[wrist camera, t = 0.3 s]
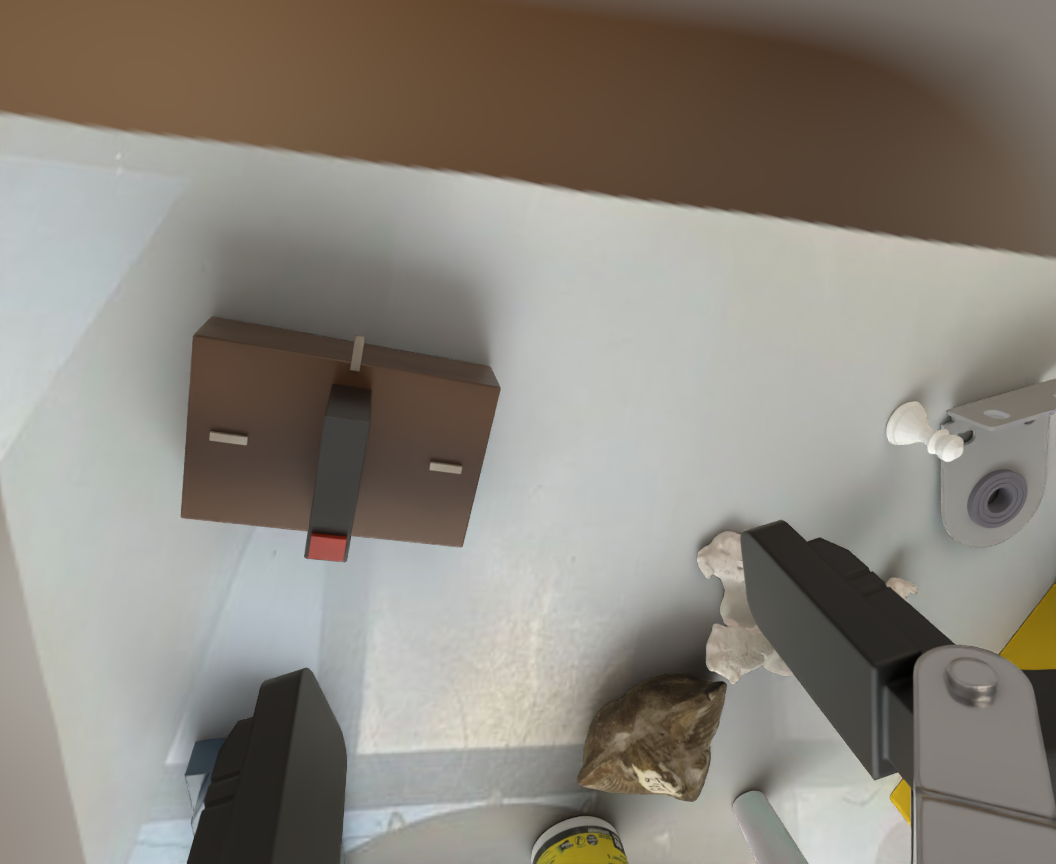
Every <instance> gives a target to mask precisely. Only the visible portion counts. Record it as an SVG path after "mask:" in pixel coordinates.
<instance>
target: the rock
mask: <svg viewBox="0 0 1056 864" xmlns="http://www.w3.org/2000/svg"><path fill="white" fill-rule="evenodd" d="M740 537H741V534H737V533H735V532H732V531H724V532H722V533H720V534H718V535H717V536H716V537H715V538H714V539H713V540H712V542H711V544H710V545H708V546H705V547H704V548H703V549H701V550H700V551H699V552H698V554H697V562H698V566H699V568H700V570H701V571H702V573H703V574H704V576H705V577H706V578H710V577H711V575H712V574H714V575H716V576H717V577H719V578H720V579H721V582H722V584H723V586H724V589H725V590H726V591H725V592H724V595H725V596H724V598H723V600H722V603H721V607H720V614H721V615H722V616H721V617H722V618H723V622H724V623H725V624H726V625H728V626H722V625H720V624H714V625H713V627H712V632H711V635H710V637H709V639H708V642H707V644H706V664H707V667H708V669H709V670H710V671H713V672H716V673H718V674H720V675H722V676H724V677H726V678H727V679H728V680H729V681H730V683H732V684H735V683H737V681H738V680H739V679H740V677H741V676H742V675H743V674H745V673H747V672H750V671H752V670H754V669H756V668H758V667H760V666H764V667H765V668H766V669H768V670H769V671H771V672H773V673H776V674H778V675H785V676H786V675H792V676H795V675H794V674H793V673H792V672H791V670H790V669H789V668H788V666H787V665H786V664H785V662H784V661H783V660H782V658H781V657H780V656H779V654H778V653H777V652H776V651H775V649H774V648H773V647H772V645H771V644H770V643H769V641H768V640H767V639H766V637H765V636H764V635H763V633H762V632H761V631H760V629H759V628H758V626H757V624H756V622H755V620H754V618H753V616H752V614H751V611H750V608H749V605H748V601H747V596H746V587H745V578H744V570H743V561H742V552H741V543H740ZM886 586H887V587H891V588H892V589H893V590H894V591H895V592H896V593H898V594H899V595H900V596H901V597H902V598H903V599H904V600H905V601H907V596H908V595H910V593H913V594H917V590H918V589H917V587H916V586H915V585H914V584H913V583H910V582H907V581H904V580H902V579H899V578H891V579H889V580H888V582H886Z"/></svg>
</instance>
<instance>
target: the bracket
mask: <svg viewBox="0 0 1056 864" xmlns="http://www.w3.org/2000/svg"><path fill="white" fill-rule="evenodd" d="M946 413H947V415H949V416H951V422H947V423H944V424H941V429H947V430H948V431H949V434H950V435H958V434H960V433H963V432H966V431H969V430H972V432H973V436H972V438H971V439H970V440H969V441H968V442H965V443H964V447H963V453H962V454H961V456H960V457H958V458H956V459H954V460H952V461H950V462H945V461H944V460H942V459H941V518H942V522H943V525H944V528H945V530H946V531H947V533H948V534H949V535H950V536H951V537H952V538H953V539H954V540H956V541H957V542H959V543H960V544H962V545H965V546H968V547H973V548H984V547H990V546H993V545H997V544H999V543H1001V542H1004V541H1005V540H1007V539H1009V538H1011V537H1012V536H1013V535H1015V534H1016V533H1017V532H1019V531H1020V530H1021V529H1022V528H1023V527H1024V526H1025V525H1026V524H1027V523H1028V522H1029V520H1030V519H1031V518H1032V516H1033V515H1034V513H1035V512H1036V510H1037V508H1038V506H1039V504H1040V502H1041V499H1042V497H1043V493H1044V489H1045V479H1046V461H1047V444H1048V427H1049V415H1052V414H1055V413H1056V379H1053V380H1049V381H1046V382H1041V383H1037V384H1034V385H1030V386H1027V387H1023V388H1020V389H1017V390H1013V391H1010V392H1006V393H1003V394H999V395H996V396H992V397H989V398H986V399H982V400H979V401H975V402H972V403H968V404H965V405H961V406H958V407H955V408H953V409H949V410H946ZM1028 421H1029V422H1028ZM1025 422H1028V423H1025ZM1024 423H1025V424H1024ZM997 489H999V493H998V496H997V498H996V499H995V500H994V501H993V502H992V503H991V504H989V505H988V500H989V497H990V496H991V495H992V493H993V492H994V491H996V490H997Z"/></svg>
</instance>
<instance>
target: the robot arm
mask: <svg viewBox="0 0 1056 864" xmlns="http://www.w3.org/2000/svg"><path fill="white" fill-rule="evenodd" d="M740 543H741V552H742V561H743V570H744V578H745V587H746V596H747V601H748V605H749V608H750V611H751V614H752V616H753V618H754V620H755V622H756V624H757V626H758V628H759V629H760V631H761V632H762V633H763V635H764V636H765V637H766V639H767V640H768V641H769V643H770V644H771V645H772V647H773V648H774V649H775V651H776V652H777V653H778V654H779V656H780V657H781V658H782V660H783V661H784V662H785V664H786V665H787V666H788V668H789V669H790V670H791V672H792V673H793V674H794V675H795V677H796V678H797V679H798V681H799V682H800V683H801V685H802V686H803V687H804V689H805V690H806V691H807V693H808V694H809V695H810V696H811V698H812V699H813V700H814V702H815V703H816V704H817V706H818V707H819V708H820V710H821V711H822V712H823V713H824V715H825V716H826V717H827V719H828V720H829V721H830V723H831V724H832V725H833V727H834V728H835V729H836V731H837V732H838V733H839V734H840V736H841V737H842V738H843V740H844V741H845V742H846V744H847V745H848V746H849V748H850V749H851V750H852V752H853V753H854V754H855V755H856V757H857V758H858V759H859V761H860V762H861V763H862V765H863V766H864V767H865V769H866V770H867V771H868V772H869V774H870V775H871V776H872V778H873V779H874V780H877V779H880V778H883V777H886V776H889V775H891V774H894V773H897V772H898V773H899V774H900V775H901V776H902V778H903V779H904V780H905V781H906V782H907V784H908V785H909V786H910V787H911V864H1056V669H1044V670H1022V669H1019V668H1018V667H1017V666H1016V665H1014V664H1013V663H1012V662H1010V661H1009V660H1007V659H1005V658H1004V657H1002V656H1000V655H998V654H995V653H993V652H991V651H988V650H985V649H981V648H978V647H973V646H966V645H955V644H954V643H953V642H952V641H951V640H950V639H948V638H947V637H946V636H945V635H944V634H943V633H942V632H940V631H939V630H938V629H937V628H936V627H935V626H934V625H933V624H931V623H930V622H929V621H928V620H927V619H926V618H925V617H924V616H922V615H921V614H920V613H919V612H918V611H917V610H916V609H914V608H913V607H912V606H911V605H910V604H909V603H908V602H907V601H905V600H904V599H903V598H902V597H901V596H900V595H899V594H898V593H896V592H895V591H894V590H893V589H892V588H891V587H887V586H886V583H885V582H884V581H883V580H882V579H881V578H879V577H878V576H877V575H876V574H875V573H874V572H870V571H869V568H868V567H867V566H866V565H865V564H864V563H862V562H861V561H860V560H859V559H858V558H857V557H856V556H855V555H853V554H852V553H851V552H850V551H849V550H847V549H845V548H843V547H841V546H838V545H836V544H834V543H831V542H829V541H827V540H824V539H822V538H817V539H813V540H810V541H806V540H805V539H804V538H803V537H802V536H801V535H799V534H798V533H797V532H796V531H795V530H794V529H793V528H792V527H791V526H790V525H789V524H788V523H787V522H785V521H783V520H778V521H775V522H772V523H769V524H766V525H762V526H759V527H756V528H753V529H750V530H747V531H743V532H742V533H741V537H740ZM346 771H347V755H346V747H345V742H344V738H343V734H342V731H341V729H340V726H339V724H338V722H337V720H336V718H335V716H334V714H333V712H332V710H331V708H330V706H329V704H328V702H327V700H326V698H325V696H324V694H323V692H322V690H321V688H320V686H319V684H318V682H317V680H316V678H315V676H314V674H313V672H312V671H311V670H310V669H309V668H304V669H300V670H297V671H294V672H291V673H288V674H285V675H281V676H278V677H275V678H272V679H269V680H266V681H264V682H263V683H262V685H261V687H260V690H259V694H258V699H257V703H256V707H255V711H254V715H253V717H250V718H247V719H243V720H240V721H238V722H237V723H236V725H235V726H234V728H233V729H232V731H231V732H230V734H229V735H228V737H227V738H226V740H225V741H224V743H223V744H222V746H221V747H220V749H219V751H218V754H217V758H216V761H215V765H214V768H213V772H212V776H211V779H210V780H211V785H209V786H208V790H207V793H206V797H205V801H204V809H203V810H202V811H201V815H200V818H199V822H198V825H197V829H196V833H195V836H194V840H193V843H192V847H191V850H190V854H189V857H188V861H187V864H340V860H341V845H342V831H343V816H344V801H345V786H346Z"/></svg>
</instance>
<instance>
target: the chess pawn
mask: <svg viewBox="0 0 1056 864" xmlns="http://www.w3.org/2000/svg"><path fill="white" fill-rule="evenodd" d="M886 434H887V437H888V440H889V442H890V443H892V444H893V445H908V444H911V443H916V442H923V443H924V444H926V445H927V446H928V452H929V453H930V454H937V456H938V457H939V458H940V459H942V460H944V461H945V462H950V461H952V460H954V459H956V458H958V457H960V456H961V454H962V453H963V447H964V442H963V439H962V438H960V437H959V436H957V435H950V434H949V431H948V430H947V429H941V430H939V431H936V430H934V429H932V428H931V427H930V425H929V422H928V417H927V414H926V411H925V410H924V409H923V407H922V405H921V404H920V403H919V402H907V403H905V404H903V405H901V406H900V407H899V408H898V409H896V410H895V411H894V413H893V414H892V416H891V417H890V419H889V421H888V424H887V428H886Z"/></svg>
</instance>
